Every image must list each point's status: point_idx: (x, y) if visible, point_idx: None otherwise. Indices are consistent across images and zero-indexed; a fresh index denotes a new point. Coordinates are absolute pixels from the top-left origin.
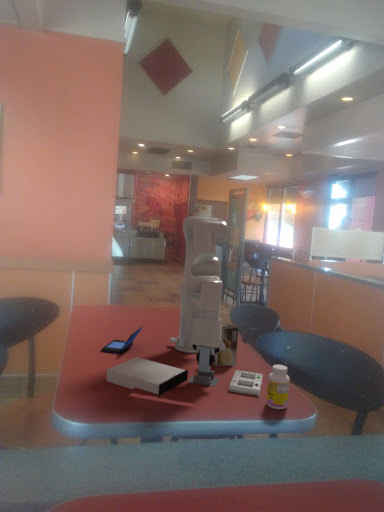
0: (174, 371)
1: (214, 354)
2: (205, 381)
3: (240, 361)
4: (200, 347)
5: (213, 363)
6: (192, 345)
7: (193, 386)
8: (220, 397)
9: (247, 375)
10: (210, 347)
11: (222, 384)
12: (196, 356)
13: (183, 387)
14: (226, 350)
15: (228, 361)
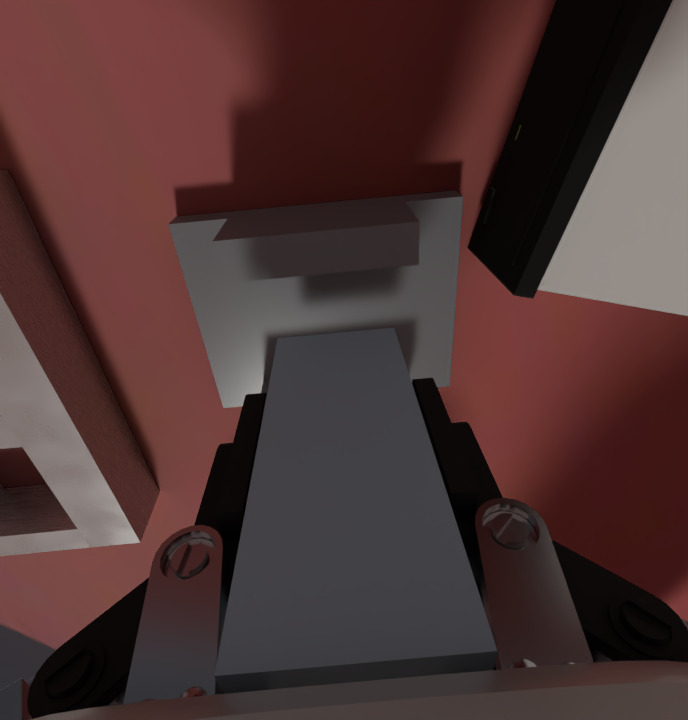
0: (682, 179)
1: (158, 550)
2: (274, 222)
3: None
4: (482, 622)
5: None
6: (681, 639)
7: (390, 177)
8: (14, 6)
9: (41, 517)
10: None
11: (178, 350)
12: (484, 460)
13: (481, 91)
14: None
15: None
